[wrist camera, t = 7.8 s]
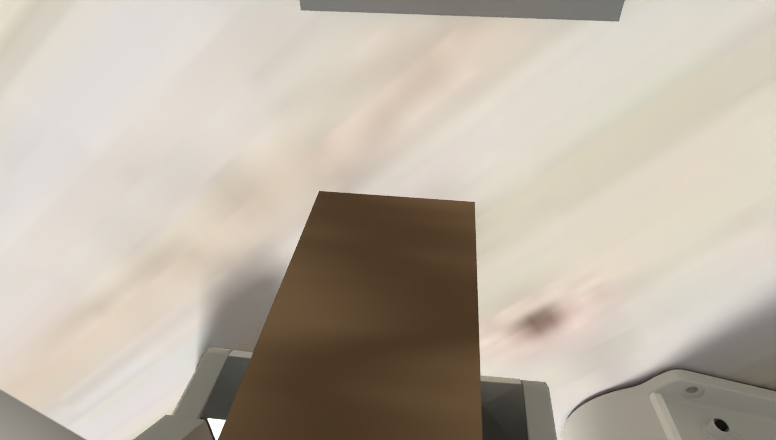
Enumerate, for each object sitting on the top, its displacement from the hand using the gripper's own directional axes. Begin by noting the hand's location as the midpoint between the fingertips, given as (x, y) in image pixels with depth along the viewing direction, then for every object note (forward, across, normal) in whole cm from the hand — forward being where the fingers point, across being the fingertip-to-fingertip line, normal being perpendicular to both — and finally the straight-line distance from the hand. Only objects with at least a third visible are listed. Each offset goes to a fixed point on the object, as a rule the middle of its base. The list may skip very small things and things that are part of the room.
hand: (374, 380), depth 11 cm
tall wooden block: (+4, 0, 0) cm, 4 cm away
